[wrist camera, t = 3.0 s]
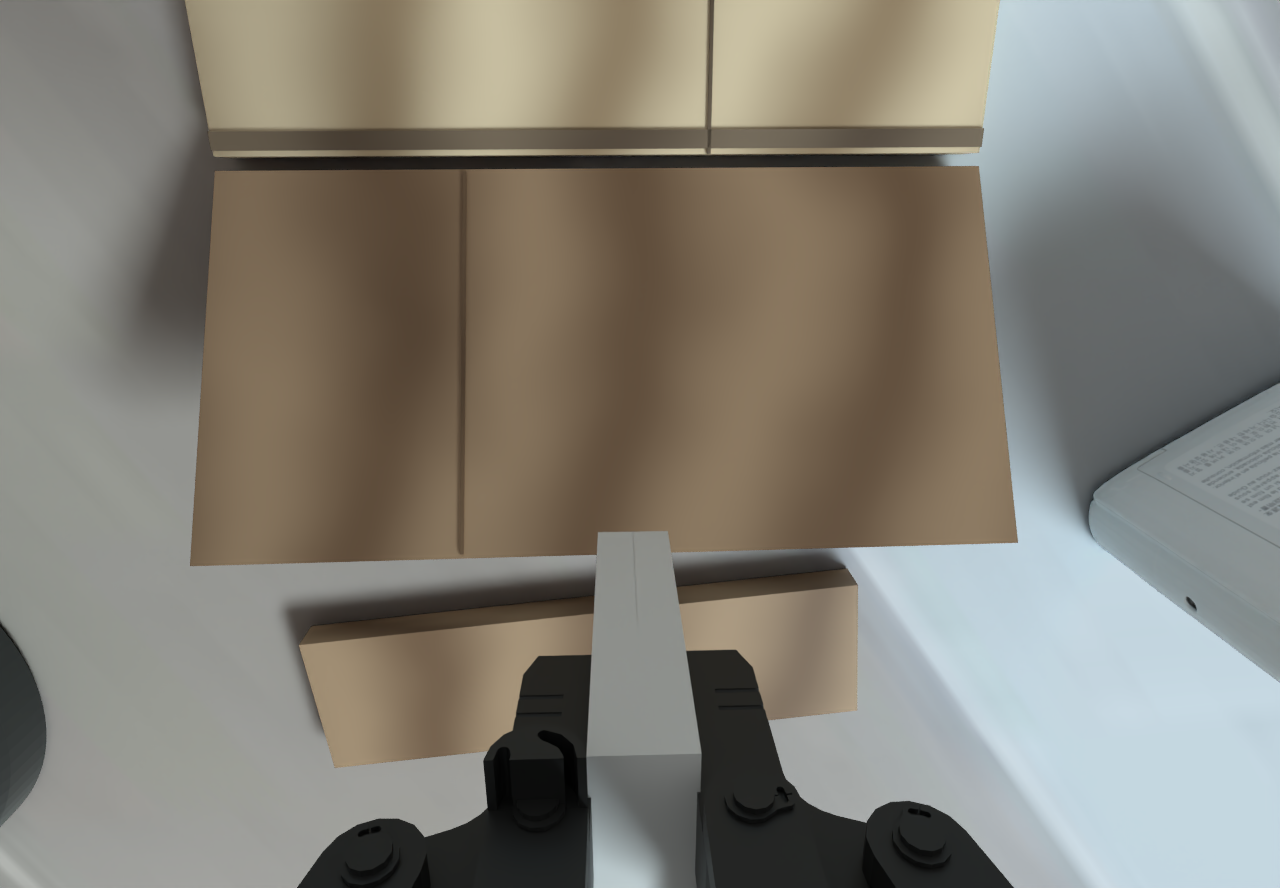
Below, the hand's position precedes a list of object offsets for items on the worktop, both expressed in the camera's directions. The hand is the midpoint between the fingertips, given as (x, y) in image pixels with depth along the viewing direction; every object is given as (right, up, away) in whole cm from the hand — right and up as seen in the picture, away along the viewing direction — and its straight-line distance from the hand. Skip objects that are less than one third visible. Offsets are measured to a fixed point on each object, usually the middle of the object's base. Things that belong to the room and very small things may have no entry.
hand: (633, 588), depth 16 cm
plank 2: (-2, -5, +12) cm, 13 cm away
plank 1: (-1, +5, +6) cm, 8 cm away
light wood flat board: (-1, +16, +5) cm, 17 cm away
